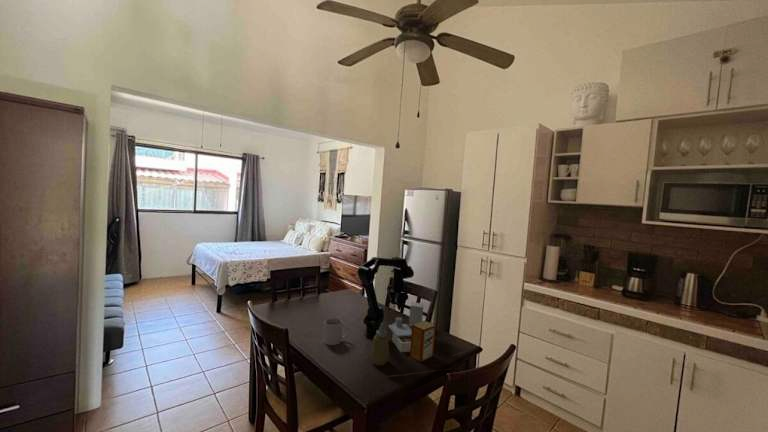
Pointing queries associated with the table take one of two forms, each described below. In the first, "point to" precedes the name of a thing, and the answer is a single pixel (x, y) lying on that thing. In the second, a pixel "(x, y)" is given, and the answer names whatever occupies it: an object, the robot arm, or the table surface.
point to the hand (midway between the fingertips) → (396, 306)
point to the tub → (401, 344)
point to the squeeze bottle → (380, 347)
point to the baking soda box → (422, 341)
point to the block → (406, 339)
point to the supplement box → (415, 313)
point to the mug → (333, 331)
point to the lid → (400, 328)
